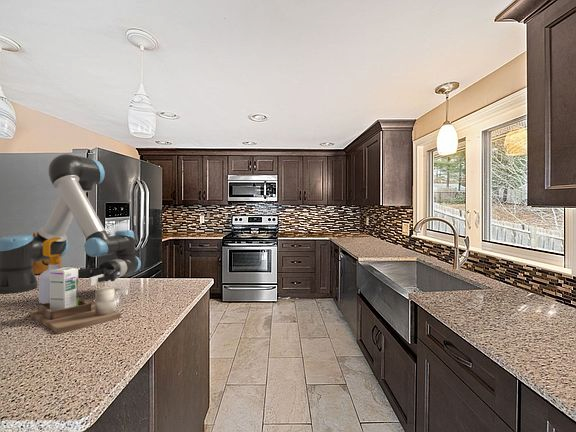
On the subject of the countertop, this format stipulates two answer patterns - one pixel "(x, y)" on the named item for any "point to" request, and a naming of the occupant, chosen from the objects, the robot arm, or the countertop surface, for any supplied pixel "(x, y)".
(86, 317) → the caddy
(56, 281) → the syrup box
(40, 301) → the soap bottle
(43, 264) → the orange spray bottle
